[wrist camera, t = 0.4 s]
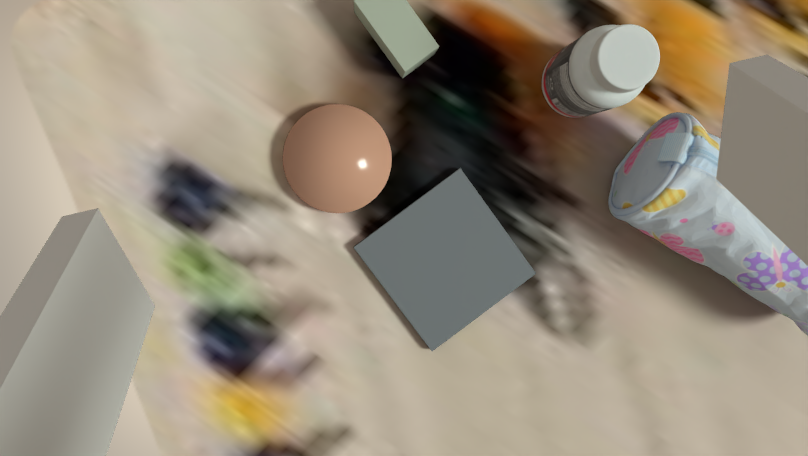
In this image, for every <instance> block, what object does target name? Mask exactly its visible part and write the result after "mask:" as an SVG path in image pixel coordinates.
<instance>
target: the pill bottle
mask: <svg viewBox="0 0 808 456" xmlns="http://www.w3.org/2000/svg"><path fill="white" fill-rule="evenodd" d="M659 62H660V52H659V47H658V44H657V42H656V40H655V38H654V37H653V36H652V34H651V33H650V32H648V31H647V30H646V29H644V28H643V27H640V26H637V25H633V24H626V25H620V26H619V25H604V26H600V27H597V28H595V29H593V30H590V31H589V32H587V33H586V34H584V35H583V36H581V37H580V38H578V39H577V40H576V41H574V42H573V43H571V44H569V45H568V46H566V47H565V48H563V49H562V50H560V51H559V52H558V53H556V54H555V55H554V56H553V57H552V58H551V59H550V60H549V61H548V63H547V65H546V66H545V69H544V71H543V75H542V91H543V95H544V97H545V99H546V101H547V103H548V104H549V106H550V107H551V108H552V109H553V110H555V111H556V112H557V113H559V114H561V115H564V116H566V117H571V118H579V117H585V116H589V115H592V114H595V113H598V112H602V111H606V110H609V109H612V108H615V107H619V106H622V105H624V104H626V103H628V102H630V101H631V100H633V99H634V98H635V97H636V96H637V95H638V94H639V93H640V92H641V91H642V89H643V88H644V86H645V84H646V83H648V82H649V81H650V80H651V79H652V78H653V76H654V75H655V73H656V71H657V69H658V66H659Z"/></svg>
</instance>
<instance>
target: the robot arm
mask: <svg viewBox="0 0 808 456" xmlns="http://www.w3.org/2000/svg"><path fill="white" fill-rule="evenodd" d="M716 179H717V180H718V181H719V182H720V183H721V184H722V185H723V186H724V187H725V188H726V189H727V190H728V191H729V192H730V193H731V194H732V195H734V196H735V197H736V198H737V199H738V200H739V201H740V202H741V203H742V204H743V205H744V206H745V207H746V208H747V209H748V210H749V211H750V212H751V213H752V214H753V215H755V216H756V217H757V218H758V219H759V220H760V221H761V222H762V223H763V224H764V225H765V226H766V227H767V228H768V229H769V230H770V231H771V232H772V233H773V234H775V235H776V236H777V237H778V238H779V239H780V240H781V241H782V242H783V243H784V244H785V245H786V246H787V247H788V248H789V249H790V250H791V251H792V252H793V253H794V254H796V255H797V256H798V257H799V258H800V259H801V260H802V261H803V262H804V263H805V264H806V265H807V266H808V77H806V76H804V75H802V74H801V73H799V72H797V71H795V70H793V69H792V68H790V67H788V66H786V65H785V64H783V63H781V62H779V61H778V60H776V59H774V58H772V57H770V56H769V55H764V56H759V57H755V58H751V59H746V60H742V61H738V62H733V63H730V65H729V73H728V82H727V90H726V99H725V107H724V116H723V124H722V132H721V141H720V149H719V158H718V166H717V175H716ZM154 308H155V305H154V303H153V301H152V299H151V298H150V296H149V294H148V293H147V291H146V289H145V288H144V286H143V284H142V282H141V281H140V279H139V277H138V276H137V274H136V272H135V270H134V269H133V267H132V265H131V264H130V262H129V260H128V258H127V257H126V255H125V253H124V252H123V250H122V248H121V247H120V245H119V243H118V241H117V240H116V238H115V236H114V235H113V233H112V231H111V229H110V228H109V226H108V224H107V223H106V221H105V219H104V218H103V216H102V214H101V212H100V211H99V209H98V208H97V209H93V210H89V211H84V212H80V213H76V214H72V215H67V216H63V217H62V218H61V219H60V221H59V222H58V224H57V226H56V227H55V229H54V230H53V232H52V234H51V235H50V237H49V239H48V240H47V242H46V243H45V245H44V247H43V248H42V250H41V251H40V253H39V255H38V256H37V258H36V259H35V261H34V263H33V264H32V266H31V268H30V269H29V271H28V272H27V274H26V276H25V277H24V279H23V281H22V282H21V284H20V286H19V287H18V289H17V290H16V292H15V293H14V295H13V297H12V298H11V300H10V301H9V303H8V305H7V306H6V308H5V310H4V311H3V313H2V315H1V316H0V456H106V455H107V452H108V449H109V446H110V443H111V440H112V437H113V434H114V430H115V427H116V424H117V421H118V418H119V415H120V412H121V409H122V406H123V403H124V400H125V397H126V394H127V391H128V387H129V384H130V381H131V378H132V375H133V372H134V369H135V366H136V363H137V360H138V357H139V354H140V351H141V348H142V345H143V341H144V338H145V335H146V332H147V329H148V326H149V323H150V320H151V317H152V314H153V311H154Z"/></svg>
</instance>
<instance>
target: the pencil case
mask: <svg viewBox="0 0 808 456" xmlns="http://www.w3.org/2000/svg"><path fill="white" fill-rule="evenodd" d="M720 141H721V139H720V138H718V137H716V136H714V135H712V134H709V133H707V132H706V130H705V129H704V127H703V126H702V125H701V124H700V122H699V121H698V120H697V119H696V118H694V117H693V116H692V115H690V114H687V113H678V112H676V113H671V114H669V115H667V116H665V117H663V118H661V119H660V120H659V121H657V122H656V123H655V124H654V125H653V126H651V127H650V128H649V129H648V130H647V131H646V132H645V133H644V134H643V135H642V137H641V138H640V139H639V140H638V141H637V143H636V144H635V145H634V146H633V147H632V149H631V150H630V151H629V152H628V153H627V155H626V156H625V157H624V159H623V160H622V162H621V163H620V164H619V165H618V166H617V168H616V170H615V173H614V174H613V180H612V184H611V190H610V195H609V200H608V204H609V210H610V212H611V214H612V215H613V216H614V217H615V218H617V219H620V220H623V221H625V222H627V223H629V224H630V225H631V226H633V227H635V228H637V229H638V230H640V231H641V232H643V233H644V234H646V235H648V236H650V237H652V238H655V239H656V240H658V241H659V242H661V243H662V244H664V245H665V246H667V247H668V248H670V249H671V250H674V251H675V252H677V253H679V254H681V255H683V256H685V257H687V258H688V259H690V260H692V261H694V262H697V263H699V264H702V265H705V266H707V267H709V268H711V269H712V270H714V271H715V272H716V273H718V274H720V275H723V276H725V277H726V278H727V279H729V280H730V281H731V282H732V283H733V284H735V285H736V286H737V287H739V288H740V289H741V290H743V291H744V292H746V293H747V294H749V295H750V296H752V297H754V298H755V299H757V300H758V301H760V302H762V303H764V304H766V305H767V306H769V307H770V308H772V309H773V310H775V311H777V312H778V313H781V314H783V315H785V316H787V317H788V318H790V319H792V320H793V321H794V322H795V323H796V325H797V326H798V327H799V328H800V329H801V330H802V331H803V332H804V333H805V334H806V335H808V266H807V265H806V264H805V263H804V262H803V261H802V260H801V259H800V258H799V257H798V256H797V255H796V254H794V253H793V252H792V251H791V250H790V249H789V248H788V247H787V246H786V245H785V244H784V243H783V242H782V241H781V240H780V239H779V238H778V237H777V236H776V235H775V234H773V233H772V232H771V231H770V230H769V229H768V228H767V227H766V226H765V225H764V224H763V223H762V222H761V221H760V220H759V219H758V218H757V217H756V216H755V215H753V214H752V213H751V212H750V211H749V210H748V209H747V208H746V207H745V206H744V205H743V204H742V203H741V202H740V201H739V200H738V199H737V198H736V197H735V196H734V195H732V194H731V193H730V192H729V191H728V190H727V189H726V188H725V187H724V186H723V185H722V184H721V183H720V182H719V181H718V180H717V179H716V175H717V166H718V158H719V149H720Z"/></svg>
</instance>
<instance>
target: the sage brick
mask: <svg viewBox="0 0 808 456" xmlns="http://www.w3.org/2000/svg"><path fill="white" fill-rule="evenodd" d="M354 13H355V14H356V15H357V17H358V18H359V19H360V21H361V22H362V24H363V25H364V26H365V28H366V29H367V30H368V32H369V33H370V35H371V36H372V37H373V39H374V40H375V41H376V43H377V44H378V46H379V47H380V48H381V50H382V51H383V52H384V54H385V55H386V57H387V58H388V59H389V61H390V62H391V63H392V65H393V66H394V68H395V69H396V70H397V72H398V73H399V74H400V76H401V77H402V78H404V77H405V76H406V75H408V74H409V73H410V72H412V71H413V70H414V69H416V68H417V67H418V66H420V65H421V64H422V63H424V62H425V61H426V60H428V59H429V58H430V57H432V56H433V55H434V54H435V53H436V51H437V49H438V48H439V45H438V44H437V43H436V41H435V40H434V38H433V37H432V36H431V34H430V33H429V31H428V30H427V29H426V27H425V26H424V24H423V23H422V22H421V20H420V19H419V17H418V16H417V15H416V13H415V12H414V10H413V9H412V8H411V6H410V5H409V3H408V2H407V1H406V0H354Z"/></svg>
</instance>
